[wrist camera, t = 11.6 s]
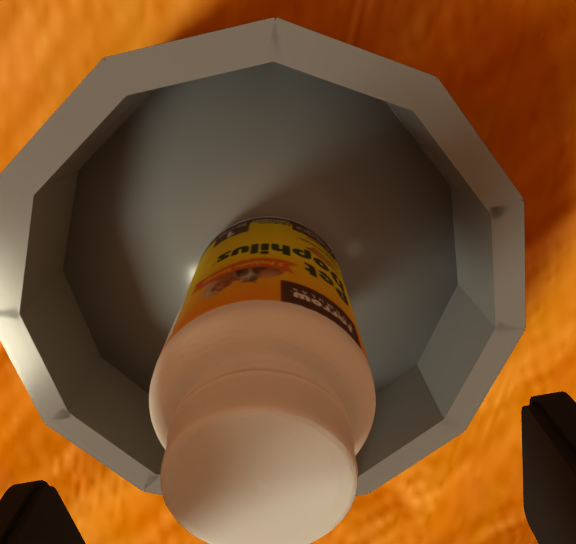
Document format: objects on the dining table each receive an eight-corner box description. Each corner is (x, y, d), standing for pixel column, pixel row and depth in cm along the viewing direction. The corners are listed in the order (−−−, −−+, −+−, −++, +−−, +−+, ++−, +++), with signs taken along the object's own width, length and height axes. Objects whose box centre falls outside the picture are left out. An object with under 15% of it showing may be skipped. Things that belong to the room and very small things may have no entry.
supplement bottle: (357, 230, 18) (446, 406, 9) (316, 352, 20) (351, 600, 11) (212, 193, 17) (138, 341, 8) (185, 323, 19) (100, 561, 10)
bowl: (456, -14, 16) (521, -41, 12) (480, 391, 23) (527, 464, 19) (-26, 99, 17) (-122, 110, 13) (135, 457, 24) (106, 541, 19)
